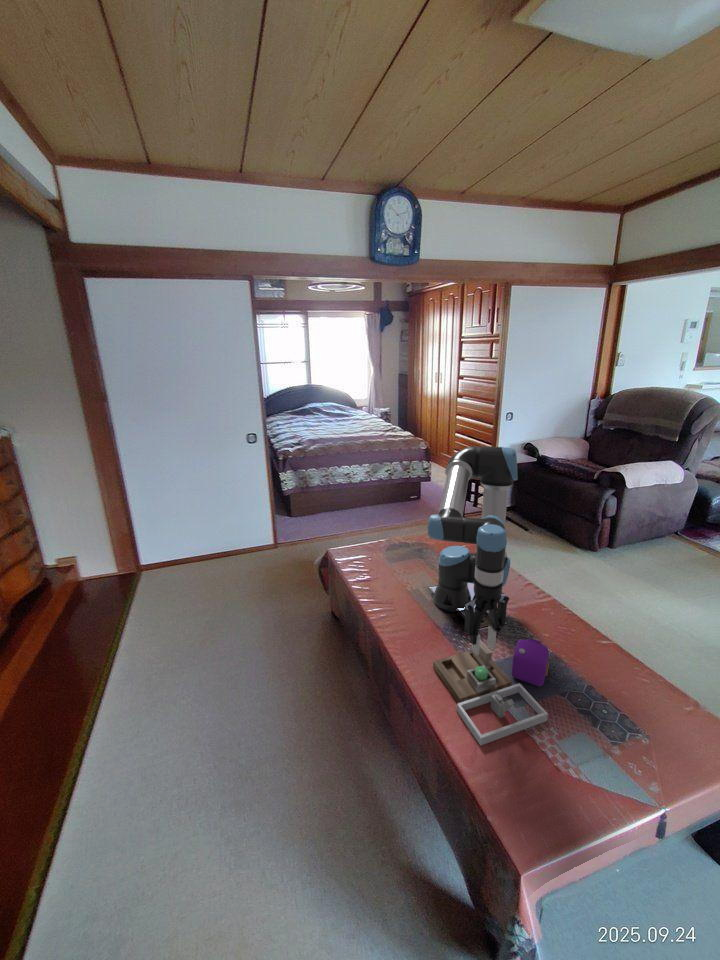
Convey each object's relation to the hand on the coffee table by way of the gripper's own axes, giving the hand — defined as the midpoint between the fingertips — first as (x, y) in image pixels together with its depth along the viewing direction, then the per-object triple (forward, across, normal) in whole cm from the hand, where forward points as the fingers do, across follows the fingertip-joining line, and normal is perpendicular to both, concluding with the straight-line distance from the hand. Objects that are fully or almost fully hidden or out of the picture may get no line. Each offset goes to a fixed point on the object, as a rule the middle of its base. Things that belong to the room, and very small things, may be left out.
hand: (483, 649), depth 119 cm
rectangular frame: (+15, 0, +10) cm, 18 cm away
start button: (+11, 0, 0) cm, 11 cm away
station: (+15, 0, -5) cm, 16 cm away
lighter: (+15, 0, +10) cm, 18 cm away
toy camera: (+15, -19, -1) cm, 24 cm away
